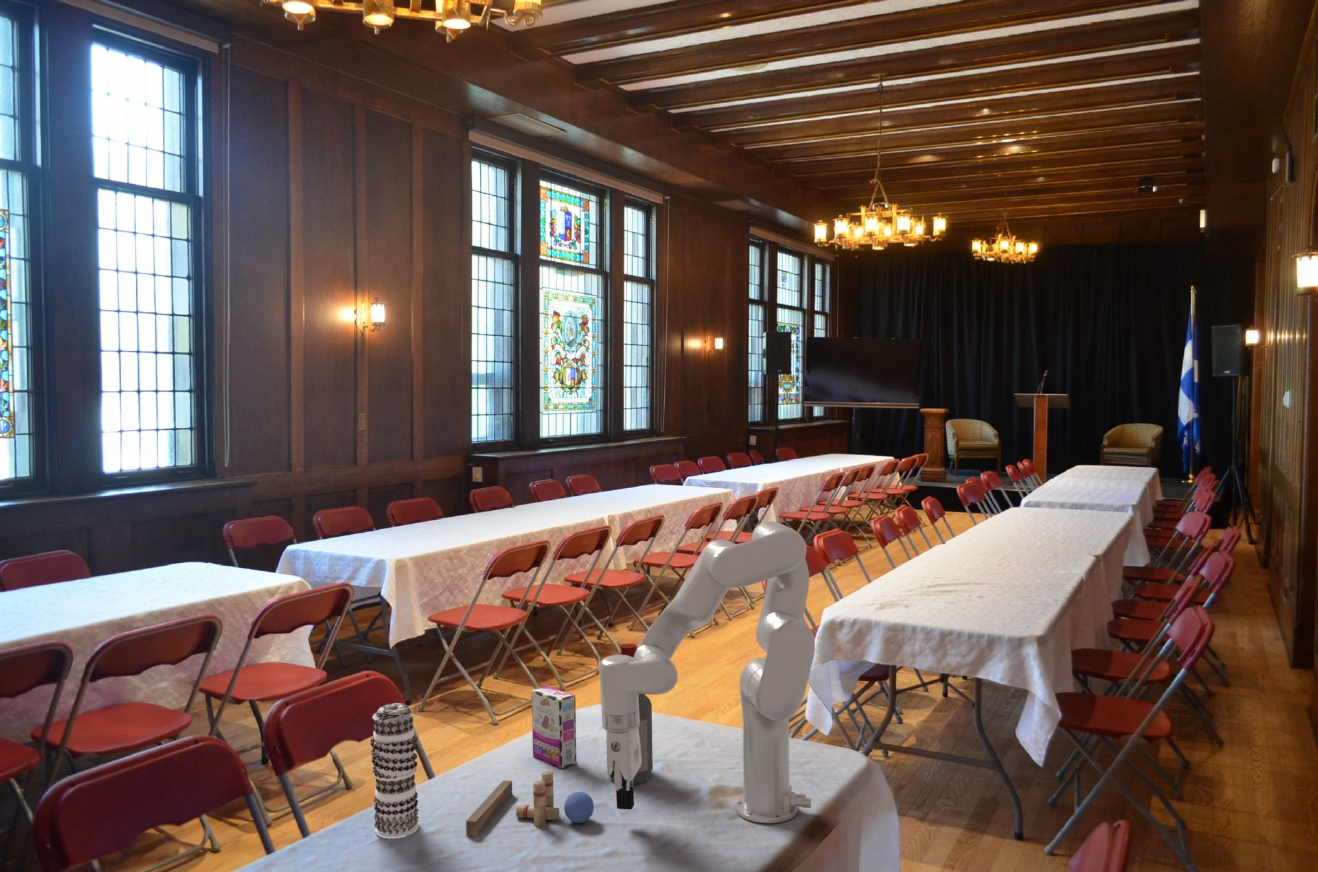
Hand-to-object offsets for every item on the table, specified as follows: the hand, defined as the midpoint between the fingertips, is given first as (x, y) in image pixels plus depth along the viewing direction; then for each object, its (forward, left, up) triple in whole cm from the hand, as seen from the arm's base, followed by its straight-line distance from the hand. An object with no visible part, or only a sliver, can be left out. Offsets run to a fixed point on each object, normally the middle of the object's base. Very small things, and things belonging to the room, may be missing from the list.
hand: (625, 807), depth 197 cm
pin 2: (+17, -2, -4) cm, 18 cm away
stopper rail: (+29, 0, -4) cm, 29 cm away
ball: (+10, 0, -1) cm, 10 cm away
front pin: (+14, 0, -2) cm, 14 cm away
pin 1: (+17, +3, -4) cm, 18 cm away
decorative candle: (+45, +10, -4) cm, 46 cm away
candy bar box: (+25, -30, -4) cm, 39 cm away
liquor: (+5, -24, -4) cm, 24 cm away
